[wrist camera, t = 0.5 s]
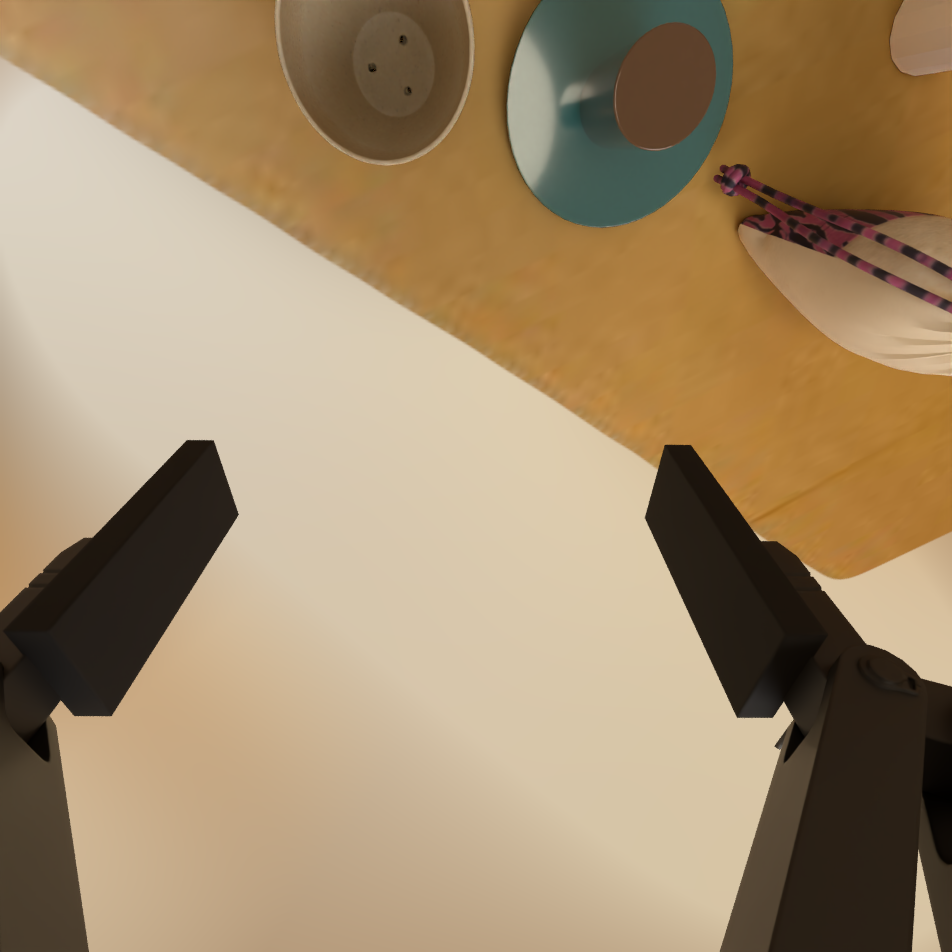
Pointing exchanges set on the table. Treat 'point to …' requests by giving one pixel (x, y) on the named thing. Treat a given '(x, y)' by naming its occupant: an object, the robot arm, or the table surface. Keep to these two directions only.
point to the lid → (617, 103)
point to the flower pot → (378, 71)
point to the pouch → (857, 273)
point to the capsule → (922, 37)
